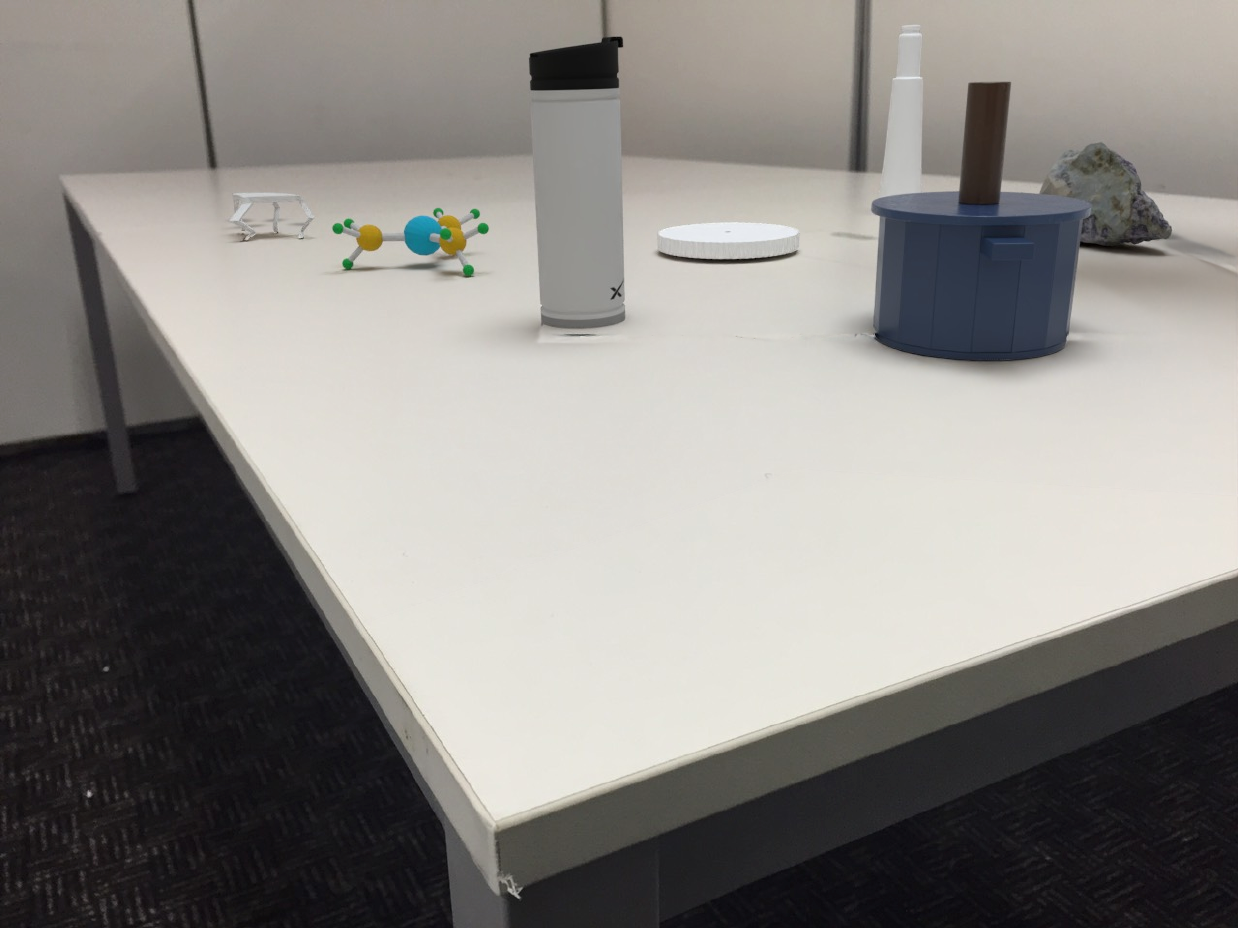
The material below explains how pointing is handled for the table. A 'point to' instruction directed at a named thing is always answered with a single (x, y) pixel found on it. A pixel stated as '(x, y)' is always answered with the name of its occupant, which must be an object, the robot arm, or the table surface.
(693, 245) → the plastic lid
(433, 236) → the molecular model
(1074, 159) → the mineral rock
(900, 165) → the cosmetic bottle
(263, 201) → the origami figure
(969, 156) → the tin lid
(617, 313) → the travel mug
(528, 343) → the table surface
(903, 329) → the tin
